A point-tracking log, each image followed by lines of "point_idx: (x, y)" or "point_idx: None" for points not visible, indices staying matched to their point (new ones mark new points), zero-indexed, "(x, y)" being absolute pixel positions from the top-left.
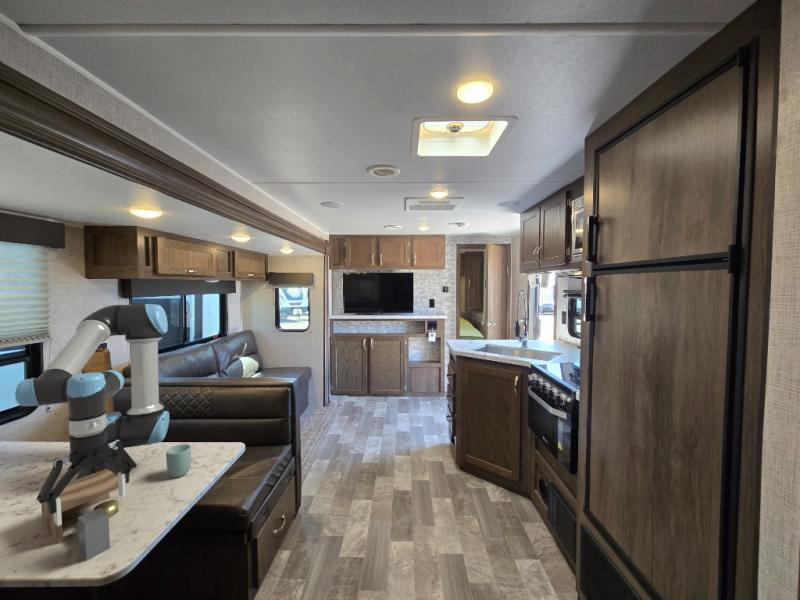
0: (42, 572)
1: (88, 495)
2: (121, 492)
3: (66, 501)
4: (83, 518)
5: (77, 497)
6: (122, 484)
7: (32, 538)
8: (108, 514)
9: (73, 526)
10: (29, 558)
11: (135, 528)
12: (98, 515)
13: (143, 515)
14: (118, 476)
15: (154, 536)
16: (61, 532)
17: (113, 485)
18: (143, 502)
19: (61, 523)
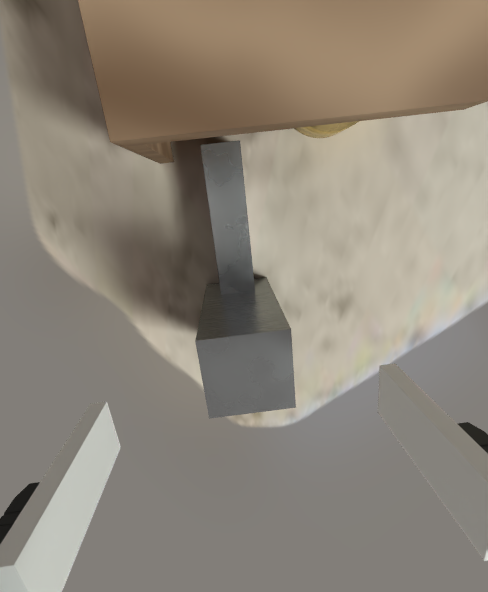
0: (119, 297)
1: (281, 114)
2: (391, 416)
3: (166, 74)
4: (212, 369)
5: (226, 74)
6: (427, 480)
7: (80, 14)
8: (324, 134)
9: (203, 157)
10: (83, 180)
11: (350, 290)
12: (263, 393)
13: (397, 231)
14: (468, 467)
15: (364, 372)
16: (163, 158)
17: (423, 104)
18: (443, 126)
19: (117, 452)
